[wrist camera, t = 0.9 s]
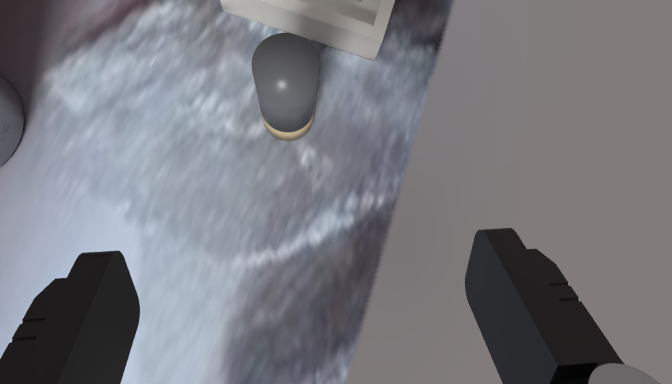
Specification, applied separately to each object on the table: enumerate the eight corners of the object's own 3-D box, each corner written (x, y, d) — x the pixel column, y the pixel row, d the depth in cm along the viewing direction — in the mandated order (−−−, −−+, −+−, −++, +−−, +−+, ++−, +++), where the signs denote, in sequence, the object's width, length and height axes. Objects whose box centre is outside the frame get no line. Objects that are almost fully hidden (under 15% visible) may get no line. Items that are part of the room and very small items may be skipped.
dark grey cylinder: (252, 123, 37) (238, 73, 27) (280, 83, 38) (276, 20, 28) (295, 150, 37) (296, 110, 27) (322, 109, 38) (332, 56, 28)
